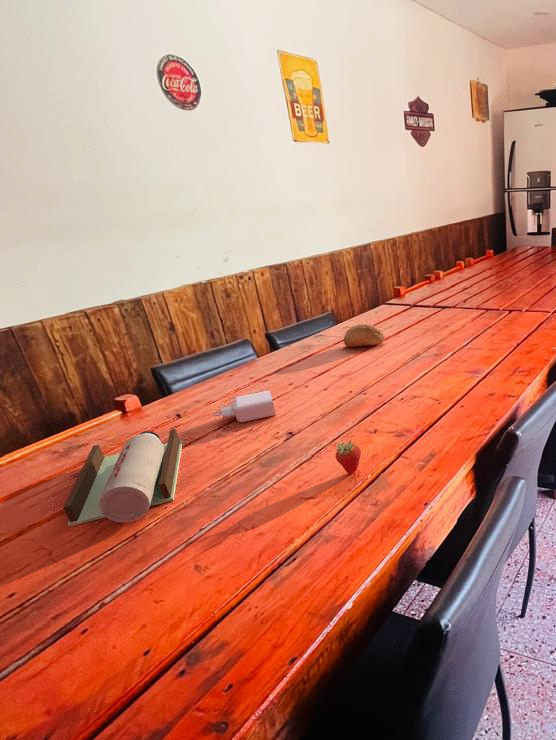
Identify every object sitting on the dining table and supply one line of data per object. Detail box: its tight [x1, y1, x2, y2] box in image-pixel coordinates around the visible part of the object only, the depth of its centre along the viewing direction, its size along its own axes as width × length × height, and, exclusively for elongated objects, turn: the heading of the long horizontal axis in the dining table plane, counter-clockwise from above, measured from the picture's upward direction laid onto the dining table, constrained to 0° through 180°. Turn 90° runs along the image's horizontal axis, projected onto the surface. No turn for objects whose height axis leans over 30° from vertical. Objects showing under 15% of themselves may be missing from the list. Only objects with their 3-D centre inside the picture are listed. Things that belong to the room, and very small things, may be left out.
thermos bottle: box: [99, 430, 165, 523], centre depth 107 cm, size 8×8×28 cm
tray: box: [62, 428, 183, 527], centre depth 111 cm, size 18×28×4 cm, turn 24°
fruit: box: [334, 439, 362, 475], centre depth 109 cm, size 5×5×8 cm
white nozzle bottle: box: [212, 390, 277, 423], centre depth 138 cm, size 5×9×15 cm
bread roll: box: [343, 323, 385, 348], centre depth 189 cm, size 10×15×8 cm, turn 98°
